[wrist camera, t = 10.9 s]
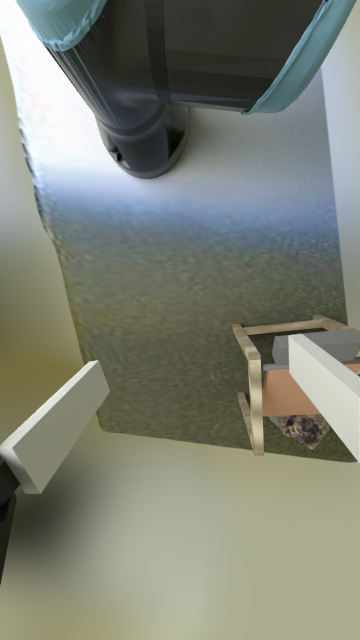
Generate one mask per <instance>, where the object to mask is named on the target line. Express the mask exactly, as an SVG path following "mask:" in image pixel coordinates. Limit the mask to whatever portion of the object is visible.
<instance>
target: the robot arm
mask: <svg viewBox="0 0 360 640" xmlns="http://www.w3.org/2000/svg"><path fill="white" fill-rule="evenodd" d="M16 2H17V3H18V5H19V6H20V8H21V10H22V11H23V13H24V14H25V16H26V17H27V19H28V22H29V24H30V26H31V28H32V30H33V31H34V32H35V34H36V36H37V37H38V39H39V40H40V41H41V42H42V43H43V45H44V46H45V47H46V49H47V50H48V51H49V53H50V54H51V55H52V57H53V58H54V59H55V61H56V62H57V64H58V65H59V66H60V68H61V69H62V70H63V72H64V73H65V75H66V76H67V77H68V79H69V80H70V81H71V83H72V84H73V86H74V87H75V88H76V90H77V91H78V92H79V94H80V95H81V96H82V98H83V99H84V101H85V102H86V103H87V105H88V106H89V107H90V109H91V110H92V112H93V113H94V115H95V118H96V122H97V125H98V128H99V132H100V135H101V138H102V141H103V143H104V145H105V147H106V149H107V151H108V152H109V154H110V155H111V157H112V158H113V159H114V160H115V162H116V163H117V164H118V165H119V166H120V167H121V168H122V169H123V170H124V171H126V172H127V173H129V174H131V175H133V176H135V177H139V178H153V177H157V176H160V175H162V174H164V173H165V172H167V171H168V170H169V169H170V168H172V167H173V165H174V164H175V163H176V162H177V161H178V159H179V158H180V156H181V154H182V152H183V150H184V148H185V145H186V142H187V137H188V132H189V112H188V107H196V108H206V109H217V110H227V111H238V112H241V114H243V115H249V114H251V113H253V112H257V113H276V112H279V111H282V110H283V109H285V108H286V107H287V106H289V105H290V104H291V103H293V102H294V101H295V100H296V99H297V98H298V97H299V96H300V94H301V93H302V92H303V91H304V89H305V88H306V87H307V85H308V84H309V83H310V81H311V80H312V78H313V77H314V75H315V74H316V72H317V71H318V69H319V68H320V66H321V64H322V63H323V61H324V59H325V58H326V56H327V55H328V53H329V51H330V49H331V48H332V46H333V44H334V42H335V40H336V39H337V37H338V35H339V33H340V31H341V29H342V28H343V26H344V24H345V22H346V20H347V18H348V16H349V14H350V12H351V10H352V8H353V6H354V4H355V3H356V0H16ZM288 340H289V373H290V374H291V376H292V377H293V378H294V380H295V381H296V382H297V383H298V385H299V386H300V387H301V389H302V390H303V391H304V392H305V394H306V395H307V396H308V398H309V399H310V400H311V401H312V403H313V404H314V405H315V407H316V408H317V409H318V410H319V412H320V413H321V414H322V416H323V417H324V418H325V419H326V421H327V422H328V423H329V425H330V426H331V427H332V428H333V430H334V431H335V432H336V434H337V435H338V436H339V437H340V439H341V440H342V441H343V443H344V444H345V445H346V446H347V448H348V449H349V450H350V452H351V453H352V454H353V455H354V457H355V458H356V459H357V461H358V462H359V463H360V374H358V375H356V374H355V373H354V372H353V371H351V370H350V369H348V368H347V367H346V366H344V365H343V364H342V363H340V362H339V361H338V360H336V359H335V358H334V357H332V356H331V355H330V354H328V353H327V352H326V351H324V350H323V349H322V348H320V347H319V346H318V345H316V344H315V343H313V342H312V341H311V340H309V339H308V338H307V337H305V336H304V335H303V334H296V335H288ZM109 392H110V390H109V387H108V384H107V382H106V379H105V376H104V374H103V371H102V368H101V366H100V363H99V361H91V362H88V363H87V364H86V365H85V366H84V367H83V368H82V369H81V370H80V371H79V372H78V373H77V374H76V375H75V376H73V377H72V378H71V379H70V380H69V381H68V382H67V383H66V384H65V385H64V386H63V387H62V388H61V389H59V390H58V391H57V392H56V393H55V394H54V395H53V396H52V397H51V398H50V399H49V400H48V401H47V402H46V403H44V405H42V406H41V407H40V408H39V409H38V410H37V411H36V412H34V413H33V414H32V415H31V416H30V417H29V418H28V419H27V420H26V421H25V422H23V423H22V424H21V425H20V426H19V428H17V429H16V430H15V431H14V432H13V433H12V434H11V435H10V436H8V437H7V438H6V439H5V440H4V441H3V442H2V443H1V444H0V584H1V579H2V573H3V568H4V563H5V557H6V552H7V547H8V542H9V536H10V531H11V526H12V520H13V515H14V510H15V505H16V500H17V499H16V494H15V493H14V491H15V490H16V488H18V486H19V485H21V487H22V488H23V490H24V491H25V493H28V494H33V493H34V494H35V493H37V494H39V493H41V492H42V490H43V489H44V488H45V486H46V485H47V483H48V482H49V480H50V479H51V477H52V476H53V475H54V473H55V472H56V470H57V469H58V467H59V465H60V464H61V463H62V461H63V460H64V458H65V457H66V455H67V454H68V452H69V451H70V449H71V448H72V446H73V445H74V444H75V442H76V441H77V439H78V438H79V436H80V435H81V433H82V432H83V430H84V429H85V427H86V426H87V424H88V423H89V421H90V420H91V419H92V417H93V416H94V414H95V413H96V411H97V410H98V408H99V407H100V405H101V404H102V402H103V401H104V399H105V398H106V396H107V395H108V393H109Z"/></svg>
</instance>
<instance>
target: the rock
mask: <svg viewBox="0 0 360 640" xmlns="http://www.w3.org/2000/svg"><path fill="white" fill-rule="evenodd" d="M269 419H270V420H271V421H272V422H273V423H275V424H276V425H277V426H278V427H280V430H281V431H282V433H283V434H284V435H287V436H288V437H289V438H292V439H294V440H296V441H297V442H300V443H302V444H303V445H306V446H308V447H309V448H310V449H313V448H315V447H316V446H317V445H318V444H319V441H320V440H321V439H322V438H323V437H324V436H325V435H326V433H327V432H328V431H329V430H330V425H329V423H328V422H327V421H326V419H325V418H324V417H323V416H322V414H309V415H285V416H269Z"/></svg>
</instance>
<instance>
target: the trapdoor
mask: <svg viewBox="0 0 360 640" xmlns="http://www.w3.org/2000/svg"><path fill="white" fill-rule="evenodd" d="M295 335H296V334H295ZM303 335H304V336H305V337H307V338H308V339H309V340H311V341H312V342H313V343H315V344H316V345H318V346H319V347H320V348H322V349H323V350H324V351H326V352H327V353H328V354H330V355H331V356H332V357H334V358H335V359H336V360H338V361H339V362H340V363H342V364H343V365H344V366H346V367H347V368H348V369H350V370H351V371H353V372H354V373H355V374H356V373H357V372H358V370H359V369H360V357H356V355H357V353H358V351H359V350H360V336H359V335H358V334H357V333H356V332H355V331H353V330H352V329H345V330H335V331H325V332H315V333H305V334H303ZM272 356H273V359H274V361H275V364H262V370H263V371H266V374H265V380H264V386H263V391H262V416H285V415H309V414H321V413H320V412H319V410H318V409H317V408H316V407H315V405H314V404H313V403H312V401H311V400H310V399H309V398H308V396H307V395H306V394H305V392H304V391H303V390H302V389H301V387H300V386H299V385H298V383H297V382H296V381H295V380H294V378H293V377H292V376H291V374H290V373H289V340H288V335H285V336H275V340H274V345H273V350H272Z"/></svg>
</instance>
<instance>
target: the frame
mask: <svg viewBox="0 0 360 640" xmlns="http://www.w3.org/2000/svg"><path fill="white" fill-rule="evenodd" d="M232 326H233V332H234V334H235V336H236V338H237V340H238V342H239V344H240V346H241V348H242V350H243V352H244V354H245V356H246V358H247V360H248V370H249V388H250V406H251V411H250V408H249V406H248V403H247V400H246V397H245V394H244V392H241V393H238V399H239V403H240V406H241V410H242V413H243V417H244V420H245V423H246V427H247V430H248V434H249V437H250V441H251V444H252V448H253V451H254V455H255V456H263V455H264V447H263V418H262V389H261V360H260V354H259V352H258V351H257V349H256V348H255V346H254V345H253V343H252V342H251V340H250V339H249V337H248V336H247V335H252V334H261V333H271V332H281V331H291V330H301V329H311V328H321V327H322V328H324V329H326V330H328V331H335V330H345V329H352V330H353V331H355V332H356V333H357V334H358V335H359V336H360V331H358V330H356V329H354V328H351V327H349V326H346V325H344V324H342V323H339V322H337V321H335V320H332V319H330V318H327V317H325V316H323V315H313V320H310V321H301V322H292V323H282V324H273V325H264V326H254V327H245V328H242V327H241V325H240V324H232Z"/></svg>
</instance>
